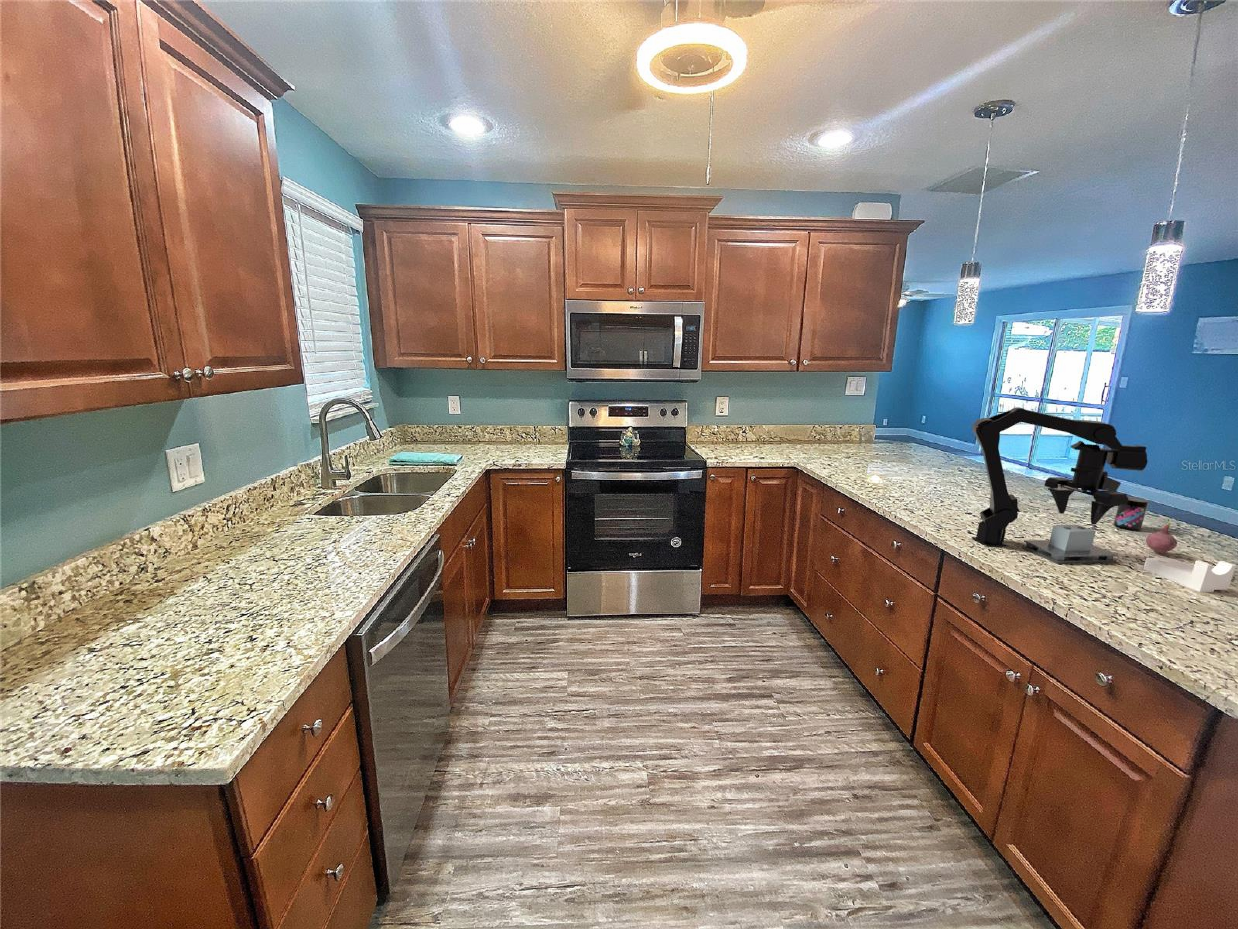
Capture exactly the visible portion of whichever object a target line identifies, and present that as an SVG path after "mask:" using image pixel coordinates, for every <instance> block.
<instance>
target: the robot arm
mask: <svg viewBox="0 0 1238 929" xmlns="http://www.w3.org/2000/svg"><path fill="white" fill-rule="evenodd" d="M1019 423H1025V424H1028V425H1032V426H1038V427H1041V428H1047V429H1051V430H1054V431H1060V432H1063V433H1068V434H1071V435H1072V436H1073V435H1074V436H1076V437H1078V438H1081V439H1083V440H1086V441H1088V442H1090V443H1093V444H1090V443H1089V444H1088V443H1085V442H1084V441H1082V440H1078V441H1077V442H1076V443H1074V444H1071V445H1070V448H1071V449H1073V450H1074V451H1075V450H1076V451H1078V456H1077V460H1076V463H1075V467H1071V468H1070V472H1072V473H1073V477H1072V479H1071V478H1067V477H1063V476H1057V477H1056V476H1055V477H1054V476H1053V477H1052V476H1051V477H1048V478H1047V479H1046V480H1045V481H1044V487H1046V488H1047V490H1048V491H1049V492H1050V493H1051V496H1052V498H1053V500H1054V502H1055V505H1056V508H1057V510H1058V513H1059V514H1062V515H1063V514H1065V512H1066V510H1067V507H1068V504H1069V503H1068V502H1069V499H1070V496H1071V495H1072V494H1074V493H1075V492H1078V493H1081V494H1085V495H1088V496H1092V497H1093V500H1092V501H1091V505H1090V508H1091V509H1090V524H1091V525H1097V524H1098V523H1099V521H1100V520H1101V519H1102V518H1103V517H1104V516H1105V514H1106V513H1107V512H1109V510H1111V509H1112V508H1114V507H1118V506H1120V505H1121V504H1127V503H1128V499H1129V497H1130V496H1128V494H1127V493H1124V492H1120V491H1118V489H1119V487H1120V486H1121V485H1122V482H1120V481H1119V480H1116V479H1114V478H1111V477H1108V475H1109V473H1108V471H1106V470H1105V466H1106V464H1107V465H1110V468H1111V469H1116V470H1125V471H1128V470H1129V471H1139V472H1142V471H1144V470H1145V469H1146V467H1147V465H1148V461H1149V459H1148V454H1147V451H1146V450H1147V447H1146V446H1144V445H1139V444H1138V445H1136V444H1135V445H1127V444H1122V443H1121V442H1120V441H1119V439H1118V438H1117V436H1116V435H1117V429H1116V428H1115V427H1114V426H1113V425H1112V424H1109V423H1106V422H1103V421H1099V420H1098V421H1097V420H1087V419H1086V420H1085V419H1070V418H1066V417H1061V416H1056V415H1053V414H1052V415H1051V414H1047V413H1043V412H1039V411H1038V412H1037V411H1034V410H1029V409H1026V408H1022V407H1017V406H1016V407H1013V408H1011V409H1009V410H1007V411H1004V412H1001V413H999V414H995V415H993V416H990V417H982V418H977V420H976V421H974V422H973V424H972V427H971V428H972V432H973V434H974V436H975V438H976V440H977V442H978V444H979V446H980V448H981V451H982V455H983V461H984V464H985V465H984V466H985V469H986V470H985V471H986V475H987V478H988V483H989V489H990V497H989V507H987V508H985V509H983V510H982V511H980V512H979V514H980V519H981V521H979V522H978V527H977V532H976V536H971V539H972V540H974V541H976V542H978V543H979V544H982V545H983V546H987V547H1006V546H1008V545H1007V544H1006V543H1005V542H1004V541H1005V537H1006V531H1007V527H1008V526H1009V524H1011V523H1013V522H1015V521H1016V520H1018V515H1019V514H1018V513H1021V511H1020V509H1019V505H1018V503H1019V501H1018V498H1017V497H1015V495H1014V494H1012V493H1011V494H1009V491H1008V487H1007V482H1006V478H1005V473H1004V469H1003V468H1004V467H1003V464H1002V459H1001V455H1000V449H999V448H1000V447H999V446H1000V437H1001V432H1003V431H1005V430H1007V429H1009V428H1012V427H1014V426H1016V425H1017V424H1019ZM1100 445H1102V446H1104V447H1107V448H1102V447H1101V448H1100Z"/></svg>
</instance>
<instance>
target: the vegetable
mask: <svg viewBox="0 0 1238 929" xmlns="http://www.w3.org/2000/svg"><path fill="white" fill-rule="evenodd" d="M1170 525H1171V523H1170V522H1167V523H1166V525H1164V527H1163V529H1162V530H1161V531H1156V532H1152V533H1149V534H1148V535H1147V537H1146V538H1145V543H1146V546H1147V547H1148V548H1149V549H1151V550H1152V551H1153V552H1154V553H1156V554H1164V553H1167V552H1170V551H1172V550H1174V549H1175V548H1176V547H1177V545H1178V541H1177V539H1176V538H1175V537H1174V536H1173V535H1171V534H1170V533H1169V530H1170Z"/></svg>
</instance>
